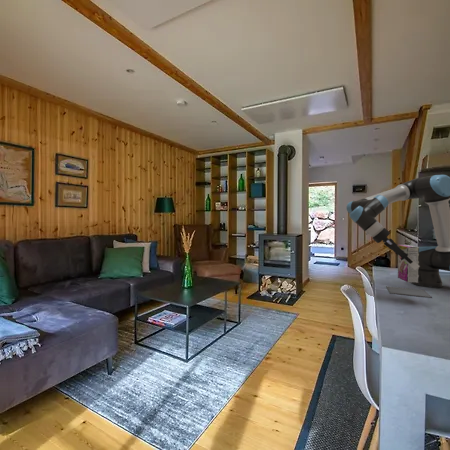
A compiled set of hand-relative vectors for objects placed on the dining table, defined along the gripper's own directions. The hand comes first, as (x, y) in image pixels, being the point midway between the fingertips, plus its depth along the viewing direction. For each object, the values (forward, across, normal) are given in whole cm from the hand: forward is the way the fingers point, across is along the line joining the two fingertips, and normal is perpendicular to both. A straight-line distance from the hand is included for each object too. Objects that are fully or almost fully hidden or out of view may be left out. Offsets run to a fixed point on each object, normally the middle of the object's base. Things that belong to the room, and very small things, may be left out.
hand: (414, 266), depth 130 cm
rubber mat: (+12, -19, -11) cm, 25 cm away
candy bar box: (+3, 0, -7) cm, 8 cm away
